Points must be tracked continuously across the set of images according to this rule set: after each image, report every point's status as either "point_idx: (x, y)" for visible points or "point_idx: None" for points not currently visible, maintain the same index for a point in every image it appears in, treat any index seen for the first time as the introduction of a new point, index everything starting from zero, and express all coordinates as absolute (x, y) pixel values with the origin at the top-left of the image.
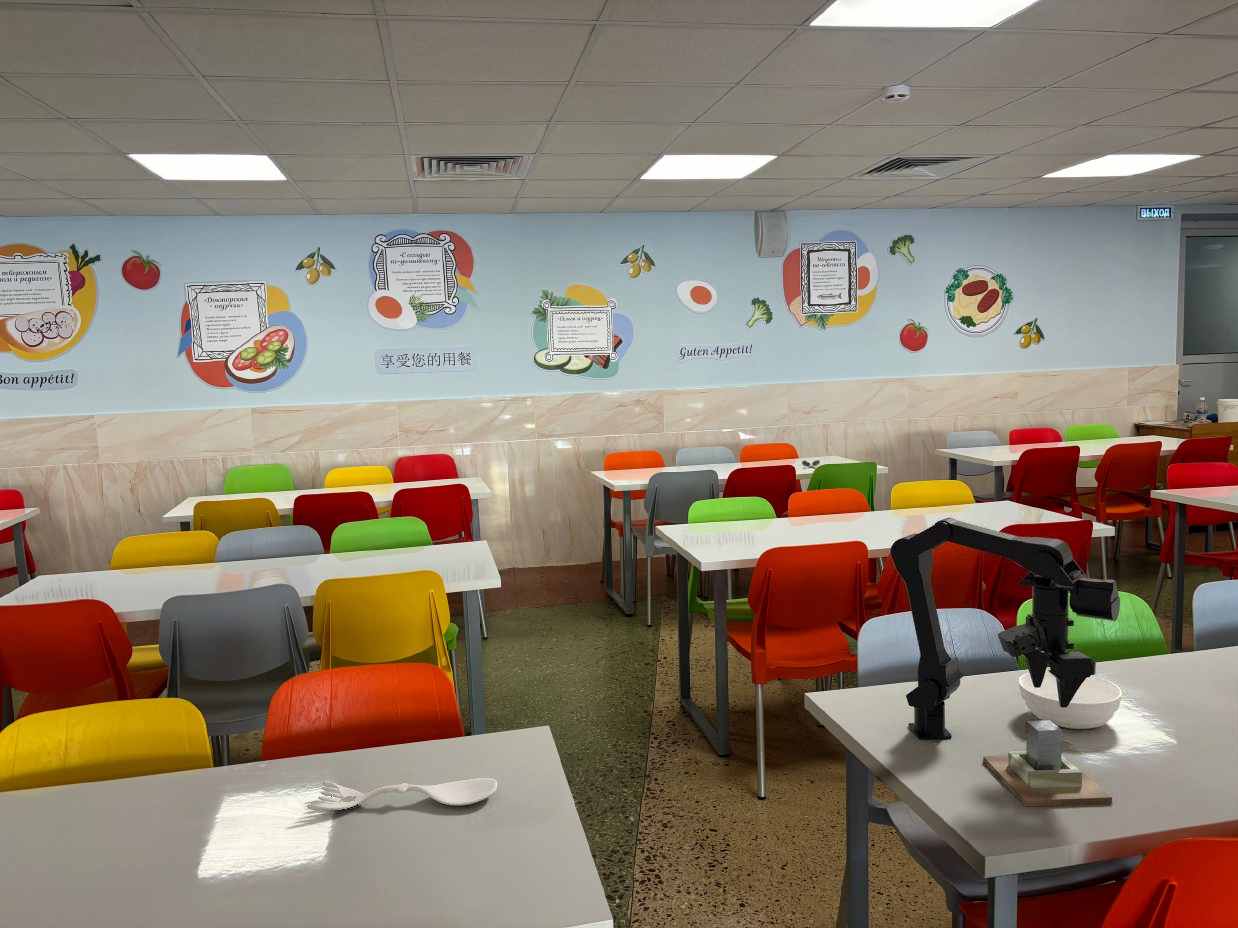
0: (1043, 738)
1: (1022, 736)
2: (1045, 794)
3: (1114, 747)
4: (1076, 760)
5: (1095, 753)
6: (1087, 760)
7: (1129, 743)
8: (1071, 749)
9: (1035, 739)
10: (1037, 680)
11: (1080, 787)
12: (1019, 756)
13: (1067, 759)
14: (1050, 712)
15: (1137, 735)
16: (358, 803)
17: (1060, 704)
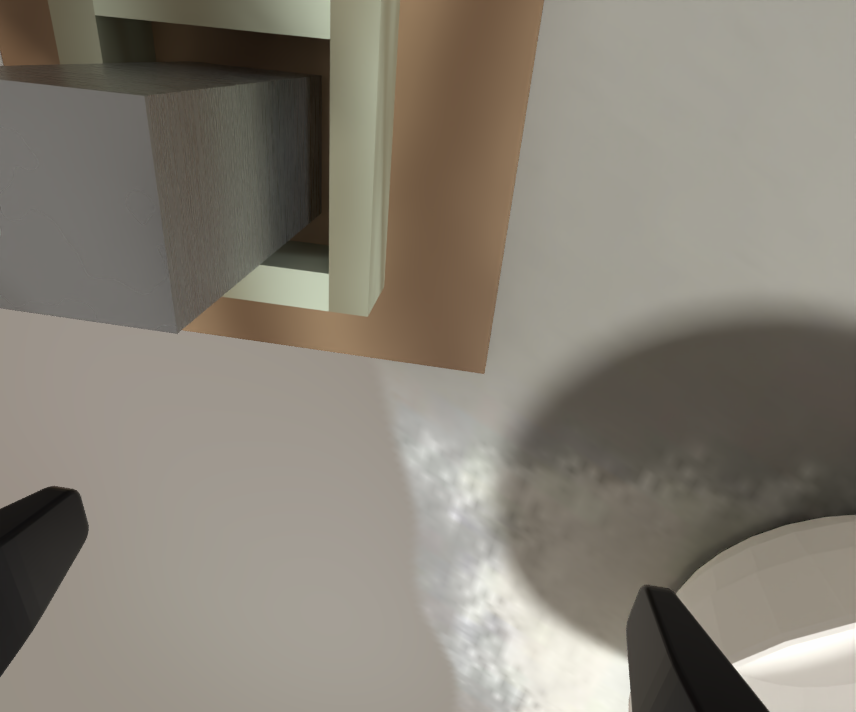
0: None
1: (770, 338)
2: (43, 11)
3: (521, 587)
4: (450, 407)
5: (492, 506)
6: (441, 444)
7: (536, 641)
8: (553, 452)
9: (37, 69)
10: (650, 688)
11: None
12: (300, 29)
13: (412, 360)
14: (791, 561)
15: (585, 693)
16: None
17: (31, 499)
